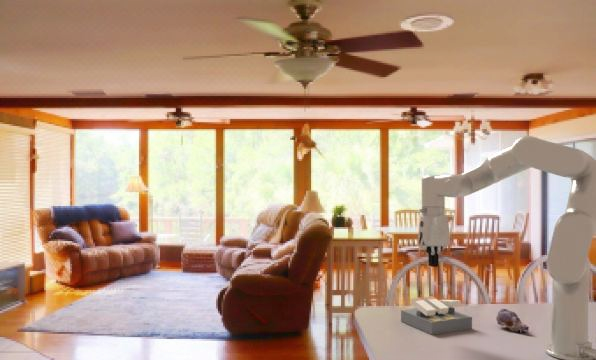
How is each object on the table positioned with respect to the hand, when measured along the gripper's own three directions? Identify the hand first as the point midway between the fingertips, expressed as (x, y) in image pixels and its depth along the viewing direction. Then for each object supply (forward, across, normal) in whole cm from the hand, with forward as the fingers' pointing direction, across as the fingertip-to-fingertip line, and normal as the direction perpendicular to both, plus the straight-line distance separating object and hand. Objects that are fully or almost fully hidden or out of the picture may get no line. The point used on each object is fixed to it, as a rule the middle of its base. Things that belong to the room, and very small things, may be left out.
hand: (433, 266), depth 176 cm
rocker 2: (+14, +4, +4) cm, 16 cm away
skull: (+22, +25, -10) cm, 35 cm away
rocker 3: (+14, +10, +4) cm, 18 cm away
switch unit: (+22, +4, +4) cm, 22 cm away
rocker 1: (+14, -1, +4) cm, 15 cm away
